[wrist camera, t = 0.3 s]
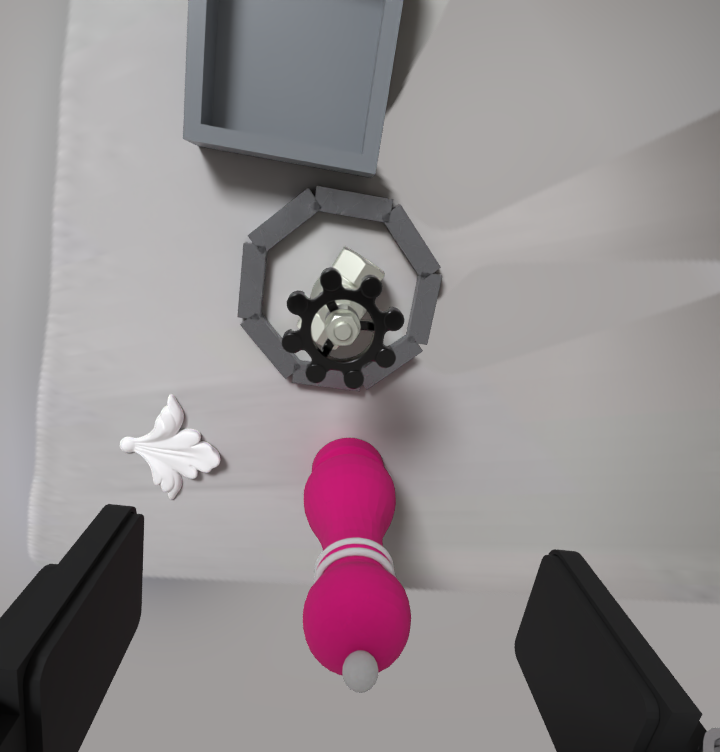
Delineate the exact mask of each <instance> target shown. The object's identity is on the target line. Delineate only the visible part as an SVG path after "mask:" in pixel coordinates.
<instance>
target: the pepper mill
mask: <svg viewBox="0 0 720 752" xmlns="http://www.w3.org/2000/svg"><path fill="white" fill-rule="evenodd" d="M395 504H396V500H395V488H394V484H393V481H392V479H391V477H390V475H389V474H388V472H387V470H386V469H385V468H384V465H383V461H382V458H381V456H380V454H379V452H378V451H377V450H376V449H375V448H374V447H373V446H372V445H370V444H369V443H367V442H365V441H363V440H360V439H355V438H342V439H338V440H335V441H332V442H330V443H328V444H327V445H325V446H324V447H323V448H322V449H321V450H320V451H319V452H318V453H317V455H316V457H315V459H314V462H313V465H312V473H311V475H310V476H309V478H308V480H307V483H306V485H305V489H304V509H305V514H306V517H307V520H308V522H309V525H310V527H311V529H312V531H313V532H314V534H315V535H316V537H317V538H318V539H319V541H320V543H321V545H322V548H323V551H322V553H321V554H320V555H319V557H318V559H317V561H316V563H315V567H314V582H313V586H312V587H311V589H310V590H309V593H308V595H307V598H306V601H305V604H304V610H303V629H304V634H305V637H306V641H307V644H308V646H309V648H310V651H311V652H312V654H313V655H314V657H315V658H316V659H317V660H318V661H319V662H320V663H321V664H322V665H323V666H324V667H326V668H327V669H328V670H330V671H332V672H335V673H337V674H339V675H343V679H344V681H345V683H346V685H347V686H348V687H349V688H350V689H351V690H353V691H355V692H359V693H362V692H366V691H368V690H370V689H371V688H372V687H373V685H374V684H375V683H376V680H377V678H378V672H380V671H382V670H384V669H386V668H388V667H389V666H390V665H391V664H392V663H393V662H394V661H395V660H396V659H397V658H398V657H399V656H400V654H401V652H402V651H403V649H404V647H405V645H406V643H407V640H408V637H409V632H410V624H411V613H410V606H409V601H408V597H407V595H406V592H405V590H404V588H403V587H402V585H401V584H400V582H399V581H398V580H397V578H396V575H395V571H394V564H393V560H392V558H391V556H390V554H389V553H388V551H387V550H386V549H385V548H384V547H383V543H382V538H383V536H384V535H385V533H386V531H387V529H388V527H389V526H390V524H391V521H392V518H393V515H394V511H395Z"/></svg>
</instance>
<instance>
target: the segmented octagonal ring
mask: <svg viewBox="0 0 720 752" xmlns="http://www.w3.org/2000/svg"><path fill="white" fill-rule="evenodd" d="M392 203H393V199H388V198H382V197H377V196H371V195H366V194H360V193H354V192H349V191H343V190H338V189H332V188H326V187H321V186H316V194H315V197H314V195H313V194H312V192H311V191H310V189H309V188H307V189H306V190H305V191H304V192H302V193H301V194H300V195H298V196H297V197H296V198H295V199H293V200H292V201H291V202H290V203H288V204H287V205H286V206H284V207H283V208H282V209H281V210H279V211H278V212H277V213H276V214H274V215H273V216H272V217H270V218H269V219H268V220H267V221H265V222H264V223H263V224H262V225H260V226H259V227H258V228H257V229H255V230H254V231H253V232H251V233H250V234H249V235H248V237H249V238H250V240H251V241H252V242H253V243H248V242H245V243H244V244H243V256H242V268H241V281H240V293H239V305H238V317H240V318H247V319H245V320H244V321H243V322H242V323H241V324H240V325H241V326H242V328H243V329H244V330H245V331H246V332H247V334H248V335H249V336H250V337H251V338H252V340H253V341H254V342H255V343H256V344H257V346H258V347H259V348H260V349H261V350H262V352H263V353H264V354H265V355H266V356H267V358H268V359H269V360H270V361H271V362H272V364H273V365H274V366H275V367H276V368H277V370H278V371H279V372H280V373H281V374H282V375H283V377H284V378H285V379H286V378H287V377H289V376H290V375H291V374H293V379H292V383H299V384H307V385H314V386H322V387H329V388H337V389H344V390H352V391H359V392H360V387H359V388H357V389H350V388H348V387H347V386H346V385H345V384H344V379H343V376H344V375H343V373H342V372H340V371H335V370H330V371H328V372H327V373H326V377H325V379H324V380H323V381H322V382H320V383H312V382H310V381H309V380H308V379H307V378H306V375H305V372H306V366H307V364H308V363H309V364H310V363H311V362H309V361H302V360H299V359H298V358H297V356H296V355H295V354H294V353H289V352H287V351H285V350H284V349H283V347H282V338H281V337H280V335H279V334H278V333H277V332H276V330H275V329H274V328H273V327H272V325H271V324H270V323H269V322H268V321H267V319H266V318H265V317H264V316H263V314H262V302H263V292H264V282H265V272H266V261H267V251H268V250H269V249H270V248H271V247H273V246H274V245H275V244H277V243H278V242H279V241H280V240H282V239H283V238H284V237H286V236H287V235H288V234H289V233H291V232H292V231H293V230H295V229H296V228H297V227H299V226H300V225H301V224H302V223H304V222H305V221H306V220H308V219H309V218H310V217H311V216H313V215H314V214H315V213H317V212H318V211H322V212H328V213H334V214H339V215H345V216H351V217H357V218H363V219H368V220H374V221H380V222H383V223H384V224H385V226H386V227H387V229H388V230H389V232H390V233H391V235H392V236H393V238H394V239H395V241H396V242H397V244H398V245H399V247H400V248H401V250H402V251H403V253H404V254H405V256H406V257H407V259H408V260H409V262H410V263H411V265H412V266H413V268H414V269H415V271H416V272H417V274H418V278H417V283H416V288H415V293H414V298H413V303H412V308H411V313H410V318H409V323H408V328H407V333H406V335H405V336H403V337H402V338H400V339H399V340H398V341H396V342H395V343H393V344H392V345H390V346H391V347H392V348H393V350H394V352H395V355H396V361H395V363H394V364H393V365H392V366H391V367H389V368H382V367H380V366H378V364H377V363H376V362H374V361H370V362H368V363H367V364H365V365H364V366H363V367H362V369H361V371H362V372H363V375H364V382H363V386H364V387H365V388H366V389H369V388H370V387H372V386H373V385H374V384H376V383H377V382H379V381H380V380H382V379H383V378H385V377H386V376H388V375H389V374H390V373H392V372H393V371H395V370H396V369H398V368H399V367H401V366H402V365H403V364H405V363H406V362H408V361H409V360H411V359H412V358H414V357H415V356H417V355H418V354H419V353H421V352H422V349H421V348H420V346H419V345H418V344H425V345H427V343H428V339H429V334H430V329H431V325H432V320H433V315H434V311H435V307H436V302H437V297H438V293H439V288H440V284H441V279H442V275H441V274H438V273H434V272H435V271H437V270H438V269H439V268H441V267H440V265H439V264H438V262H437V261H436V259H435V258H434V256H433V254H432V253H431V251H430V250H429V248H428V247H427V245H426V244H425V242H424V240H423V239H422V237H421V236H420V234H419V233H418V231H417V230H416V228H415V226H414V225H413V223H412V222H411V220H410V219H409V217H408V215H407V214H406V212H405V211H404V209H403V208H402V206H401V205H400V204H398V205H397V206H396V207H394V208H393V209H392ZM391 209H392V210H391Z"/></svg>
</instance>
